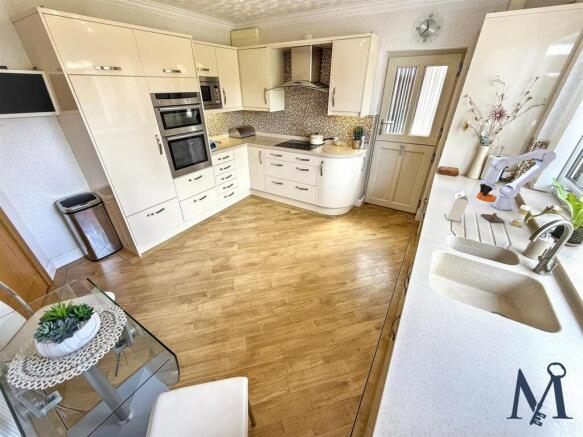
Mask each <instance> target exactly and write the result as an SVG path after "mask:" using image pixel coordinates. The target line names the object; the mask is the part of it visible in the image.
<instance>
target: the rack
mask: <svg viewBox="0 0 583 437" xmlns="http://www.w3.org/2000/svg"><path fill="white" fill-rule="evenodd" d="M480 216H481V217H483V218H484V219H485V220H486V221H488V222H489V223H497V224H499V223H500V224H504V223H505V222H506V220H503V219H502V218H500V217H499V216H498V213H496V212H493V213H492V214H490V213H489V214H488V213H481V215H480Z"/></svg>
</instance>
